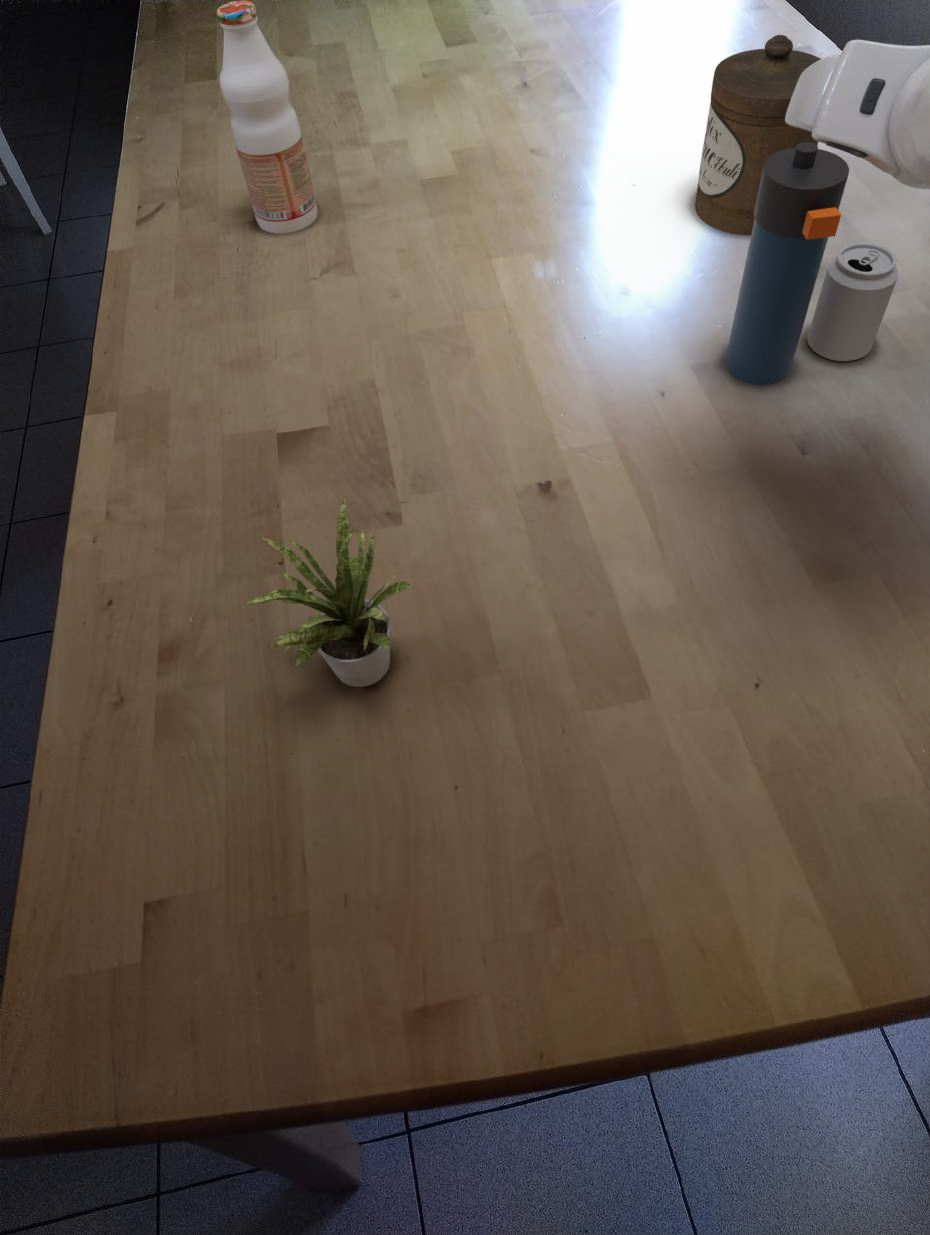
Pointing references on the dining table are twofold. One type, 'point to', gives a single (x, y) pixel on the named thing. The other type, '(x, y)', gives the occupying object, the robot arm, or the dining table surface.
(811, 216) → the orange block
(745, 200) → the wooden container
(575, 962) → the dining table surface
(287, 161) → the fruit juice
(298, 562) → the house plant
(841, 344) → the can
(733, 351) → the bottle
